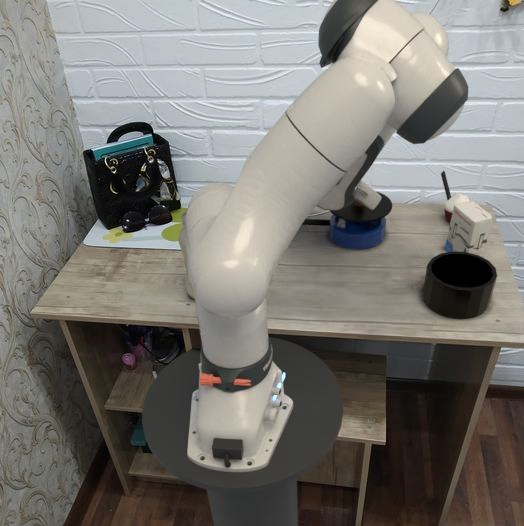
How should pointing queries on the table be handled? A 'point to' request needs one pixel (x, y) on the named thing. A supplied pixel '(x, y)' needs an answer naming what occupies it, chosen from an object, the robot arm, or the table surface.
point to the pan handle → (316, 222)
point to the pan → (357, 233)
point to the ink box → (468, 229)
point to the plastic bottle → (185, 256)
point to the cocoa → (451, 199)
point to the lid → (365, 211)
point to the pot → (459, 284)
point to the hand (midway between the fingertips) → (362, 197)
